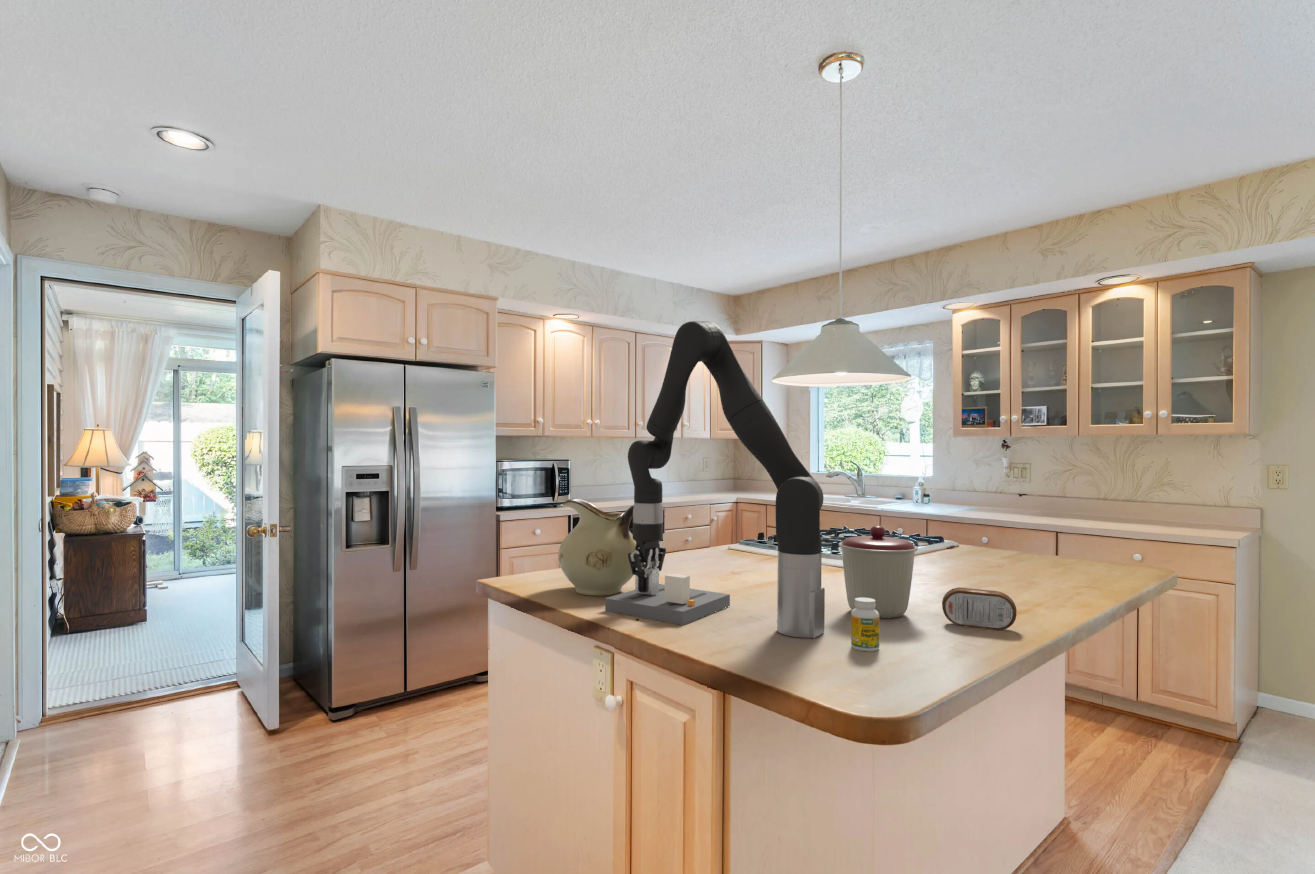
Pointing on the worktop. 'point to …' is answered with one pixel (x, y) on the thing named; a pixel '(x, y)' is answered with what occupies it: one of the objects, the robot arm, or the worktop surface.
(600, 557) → the pitcher
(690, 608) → the grey slotted tray
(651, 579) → the light grey block
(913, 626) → the worktop surface
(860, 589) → the canister
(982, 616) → the tin
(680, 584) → the block
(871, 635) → the supplement bottle
